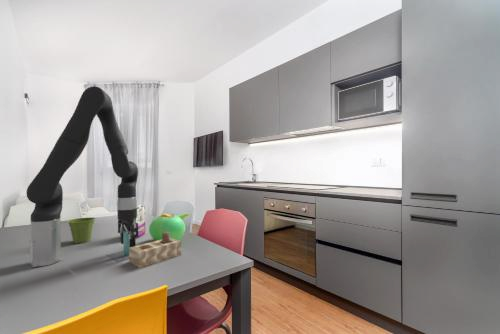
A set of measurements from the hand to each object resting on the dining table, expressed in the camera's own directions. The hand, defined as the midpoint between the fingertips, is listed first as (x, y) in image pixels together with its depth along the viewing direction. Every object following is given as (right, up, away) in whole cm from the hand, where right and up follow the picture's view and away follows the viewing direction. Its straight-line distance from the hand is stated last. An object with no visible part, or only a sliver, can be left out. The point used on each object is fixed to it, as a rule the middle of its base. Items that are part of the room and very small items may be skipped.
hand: (128, 245), depth 106 cm
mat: (-1, -4, 0) cm, 5 cm away
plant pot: (-34, -5, +20) cm, 40 cm away
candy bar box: (-10, -5, +29) cm, 31 cm away
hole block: (+14, -4, -4) cm, 15 cm away
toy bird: (+11, -4, +19) cm, 23 cm away
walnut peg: (+17, -4, -1) cm, 17 cm away
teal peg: (0, -4, 0) cm, 4 cm away
